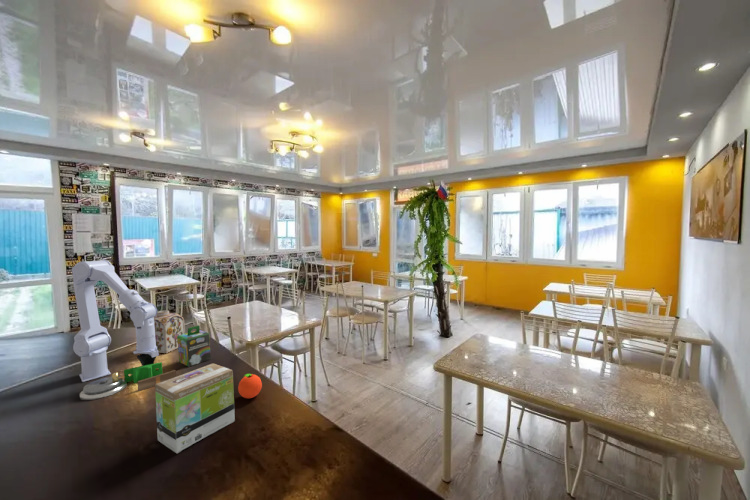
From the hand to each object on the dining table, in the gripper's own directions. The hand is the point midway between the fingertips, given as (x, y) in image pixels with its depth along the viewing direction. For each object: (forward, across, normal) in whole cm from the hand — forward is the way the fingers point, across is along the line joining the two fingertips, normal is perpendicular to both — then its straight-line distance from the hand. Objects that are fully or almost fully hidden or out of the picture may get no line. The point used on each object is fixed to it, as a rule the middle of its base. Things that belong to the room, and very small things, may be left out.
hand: (148, 372), depth 116 cm
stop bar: (+1, +12, -2) cm, 12 cm away
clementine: (+1, +49, +10) cm, 50 cm away
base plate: (+1, 0, -13) cm, 13 cm away
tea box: (+1, +52, -8) cm, 53 cm away
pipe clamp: (+1, +3, -3) cm, 4 cm away
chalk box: (+1, +2, +16) cm, 16 cm away
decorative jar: (+1, -26, +16) cm, 31 cm away
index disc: (0, 0, -13) cm, 13 cm away
